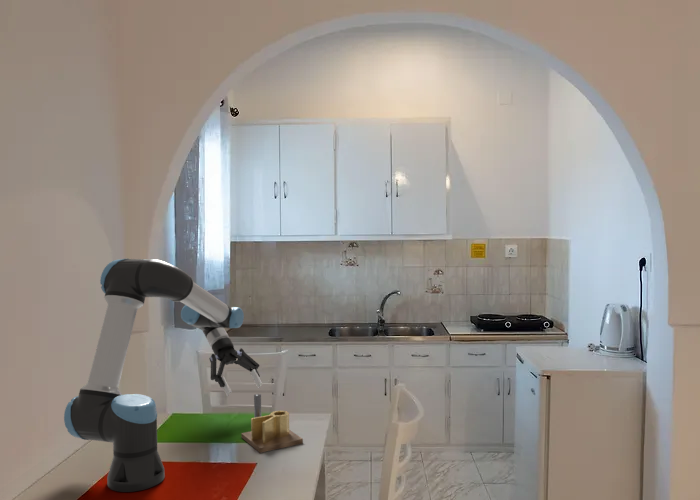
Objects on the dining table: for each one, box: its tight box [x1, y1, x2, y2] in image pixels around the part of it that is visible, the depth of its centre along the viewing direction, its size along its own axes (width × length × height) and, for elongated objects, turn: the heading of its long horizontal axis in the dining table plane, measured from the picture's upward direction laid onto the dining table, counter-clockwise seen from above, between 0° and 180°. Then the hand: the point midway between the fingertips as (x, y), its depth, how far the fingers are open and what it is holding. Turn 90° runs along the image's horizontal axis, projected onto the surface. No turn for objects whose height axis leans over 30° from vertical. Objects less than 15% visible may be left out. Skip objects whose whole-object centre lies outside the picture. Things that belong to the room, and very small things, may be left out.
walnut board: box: [240, 429, 304, 454], centre depth 198 cm, size 15×16×2 cm
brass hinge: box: [250, 410, 290, 444], centre depth 196 cm, size 13×9×7 cm
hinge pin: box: [253, 393, 262, 418], centre depth 209 cm, size 2×2×12 cm
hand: (245, 389), depth 215 cm, fingers open, 13 cm apart
